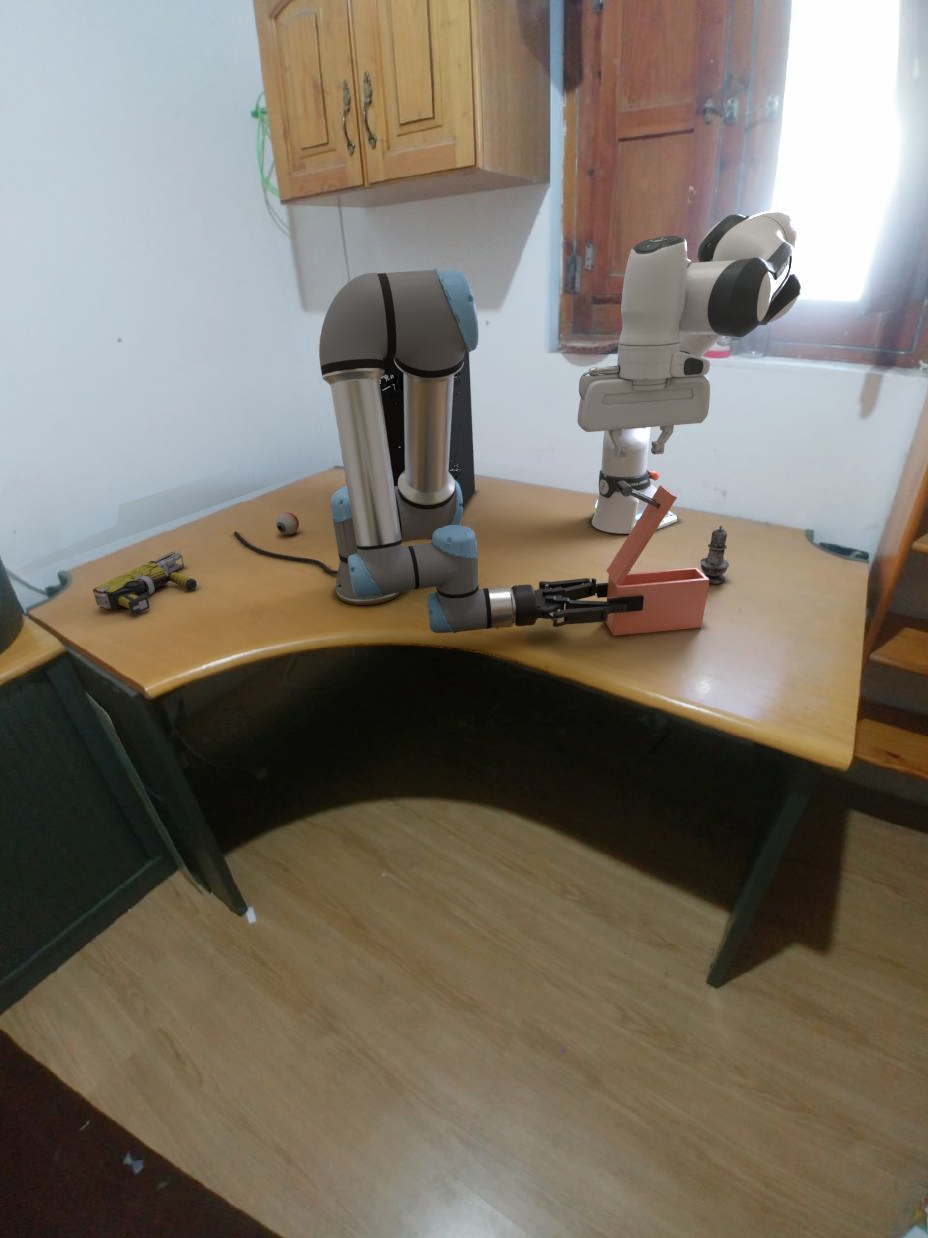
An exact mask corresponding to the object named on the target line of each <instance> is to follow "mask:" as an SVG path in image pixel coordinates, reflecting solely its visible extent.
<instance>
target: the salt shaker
mask: <svg viewBox="0 0 928 1238" xmlns="http://www.w3.org/2000/svg"><path fill="white" fill-rule="evenodd" d="M727 537H728V532H727V531H726V530H725V529H723V526H722V525H720V526H718V528H717V529H714V530H713V531H712V532H711V539H710V543H709V544H708V554H707V556H706V557H703V558H702V559H700V561H699V564H700V568H701V572H702V573H703V574H704V575H705V576H706V577H707V578H708V579H709V584H714V585H715V584H721V583H724V582H726V577H725V576H724V575H723V574H725V573H726V571H727V570H728V568H729V567H730V563H729V561H728V560H727V559H725V550H727V548H728V546H727V545H726V543H727Z"/></svg>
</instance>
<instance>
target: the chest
mask: <svg viewBox="0 0 928 1238" xmlns="http://www.w3.org/2000/svg"><path fill="white" fill-rule="evenodd" d="M703 573H704V572H703V571H702V570H700V568H698V567H697V566H696V567H685V568H671V569H661V570H660V569H659V570H651V571H639V572H629V573H628V574H627V576H626V578H625V579H624V581H623V582H622V584H621V585H617V584H615V583H614V581H613V580H612V578H611V577H610V575H609V574H608V579H607V583H608V591H607V597H606V599H607V598H619V597H630V596H641V595H643V597H644V602H643V610H642V611H631V612H620V613H611V614H608V619H607V621H606V622H605V624H606V625H607V627H608V629H609V631H610V632H611V634H612V636H614V637H615V636H625V635H637V634H645V633H659V632H668V631H678V630H686V629H688V630H689V629H700V628H702V627H703V622H704V621H703V620H704V615H705V608H706V604H707V596H708V591H709V586H710V583H709V579H708V578H707V577H706V576H705V575H704V574H703Z"/></svg>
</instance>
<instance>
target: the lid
mask: <svg viewBox="0 0 928 1238" xmlns="http://www.w3.org/2000/svg"><path fill="white" fill-rule="evenodd" d="M616 488H617V490H618V491H619V492H620V493H621V494H622V495H623V496H625V497H628V496H630V495H631V496H633V497H635V498H638V499H640V500H642V501H644V502H646V503H648V505H647V507H646V508H645V510H644V512H643V513H642V515H641V516H640V518H639V520H638V521H637V523H636V524H635V526H634V528H633V529H632V531H631V532H630V534H628V535H627V537H626V539H625V540H624V542H623V544H622V545H621V547H620V548H619V549H618V551H617V553H616V555H615V556H614V557H613V559H612V561H611V563H610V564H609V566H608V568H607V569H606V573H607V574H608V576H609V575H610V577H611V578H612V580H613V581H614V583H615V584H617V585H621V584H622V582H623V581H624V579H625V578H626V576H627V574H628V573H630V571H631V570H632V568H633V566H635V564H636V562H637V561H638V559H639V558H640V556H641V554H642V553H643V551H644V550H645V548H646V547H647V545H648V543H649V542H650V540H651V539H652V537H653V536H654V534H655V533H656V531H657V530H658V529H657V528H658V526H659V525H660V523H661V522H662V520H663V519H664V517H665V516H666V514H667V512H668V511H670V509H671V508H672V506H673V505H674V504H675V502H676V500H677V499H678V496H676V495H675V494H674V493H673V492H672V491H670V490H668V488H666V487H665V486H663V485H659V486H658V488H656V489H657V491H656V492H655V494H654V496H653V497H652V498H651V497H648V496H646V495H644V494H642V493H640V492H638V491H636V490H634V489H632V487H631V486H629V485H628V484H627V483H626V482H625V481H619V482H618V483H617V485H616ZM656 529H657V530H656Z"/></svg>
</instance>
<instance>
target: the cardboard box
mask: <svg viewBox="0 0 928 1238" xmlns="http://www.w3.org/2000/svg"><path fill="white" fill-rule="evenodd" d="M383 364H384V374H383V375H382V377H381V378H380V381H379V383H380V390H381V397H382V404H383V411H384V418H385V425H386V432H387V440H388V447H389V454H390V461H391V468H392V475H393V482H394V486H398V479H399V477H400V475H401V474H402V473H403V472H404V471H405V433H404V373H403V372H402V371H401V370H400V369H399V368H398V367H397V366H396V364H395V362H394V358H383ZM470 364H471V363H470V352H467V351H465V353H464V364H463V367H462V368H461V370H460V371H459V372H457V373H456V374H454V382H453V400H452V417H451V434H450V452H449V469H448V472H449V473H450V474H451V475H452V477H453V478H454V480H456V481H457V482H458V484H459V486H460V488H461V492H462V498H463V504H462V507H463V510H464V509H465V507H466V506H467V504H468V503H469V501H470V500H471V499H472V497H473V495H474V494H475V492H476V482H475V480H476V477H475V459H474V457H475V455H474V432H473V412H472V410H473V409H472V388H471V387H472V386H471V367H470V366H471V365H470Z"/></svg>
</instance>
